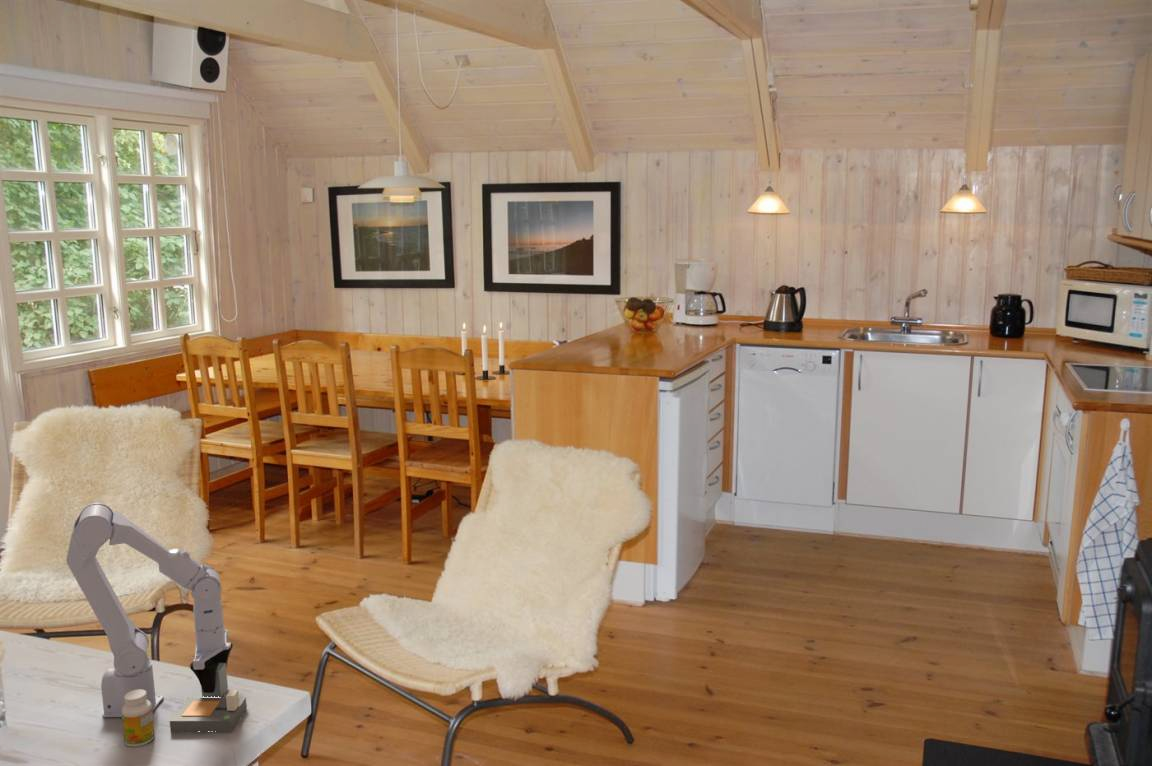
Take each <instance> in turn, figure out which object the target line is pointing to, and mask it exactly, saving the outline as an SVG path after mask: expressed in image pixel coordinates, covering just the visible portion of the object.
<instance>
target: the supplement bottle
mask: <svg viewBox="0 0 1152 766" xmlns="http://www.w3.org/2000/svg"><path fill="white" fill-rule="evenodd" d="M124 702H125V705H124V706H123V708H122V717H121V718H122V728H123V738H124V739H123V740H124V743H125V745H126V746H127V747H128V746H129V747H134V748H137V747H141V746H145V745H147V744H149V743H150V742H152V741H153V740H154V738H155V736H156V735H155V723H154V715H153V714H154V713H153V711H152V704H151V702H150V701H149V700H147V693H146V691H145V690H142V689H137V690H133V691H130V692H128V693H126V694H125V696H124Z"/></svg>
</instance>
